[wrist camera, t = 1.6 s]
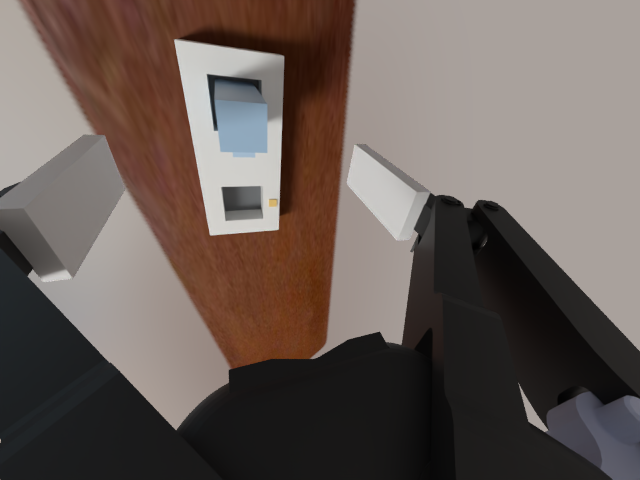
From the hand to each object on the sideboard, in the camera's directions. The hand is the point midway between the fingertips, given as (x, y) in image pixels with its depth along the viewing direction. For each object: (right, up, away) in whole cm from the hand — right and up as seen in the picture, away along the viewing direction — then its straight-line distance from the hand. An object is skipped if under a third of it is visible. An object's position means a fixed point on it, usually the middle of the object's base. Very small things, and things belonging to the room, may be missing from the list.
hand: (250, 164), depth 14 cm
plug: (-5, +10, +11) cm, 16 cm away
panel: (-6, +6, +15) cm, 18 cm away
